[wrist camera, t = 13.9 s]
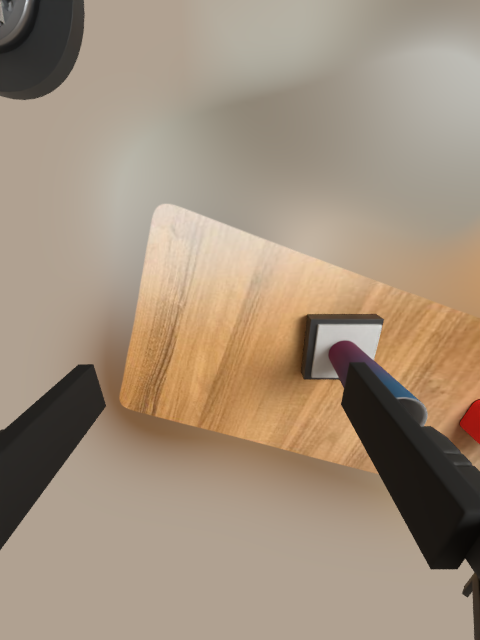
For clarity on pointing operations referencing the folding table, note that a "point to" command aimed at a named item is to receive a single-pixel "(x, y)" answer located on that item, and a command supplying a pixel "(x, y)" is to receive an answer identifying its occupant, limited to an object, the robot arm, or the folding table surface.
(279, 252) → the folding table surface
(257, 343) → the folding table surface
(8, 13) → the robot arm
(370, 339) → the scale
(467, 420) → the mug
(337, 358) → the cup
